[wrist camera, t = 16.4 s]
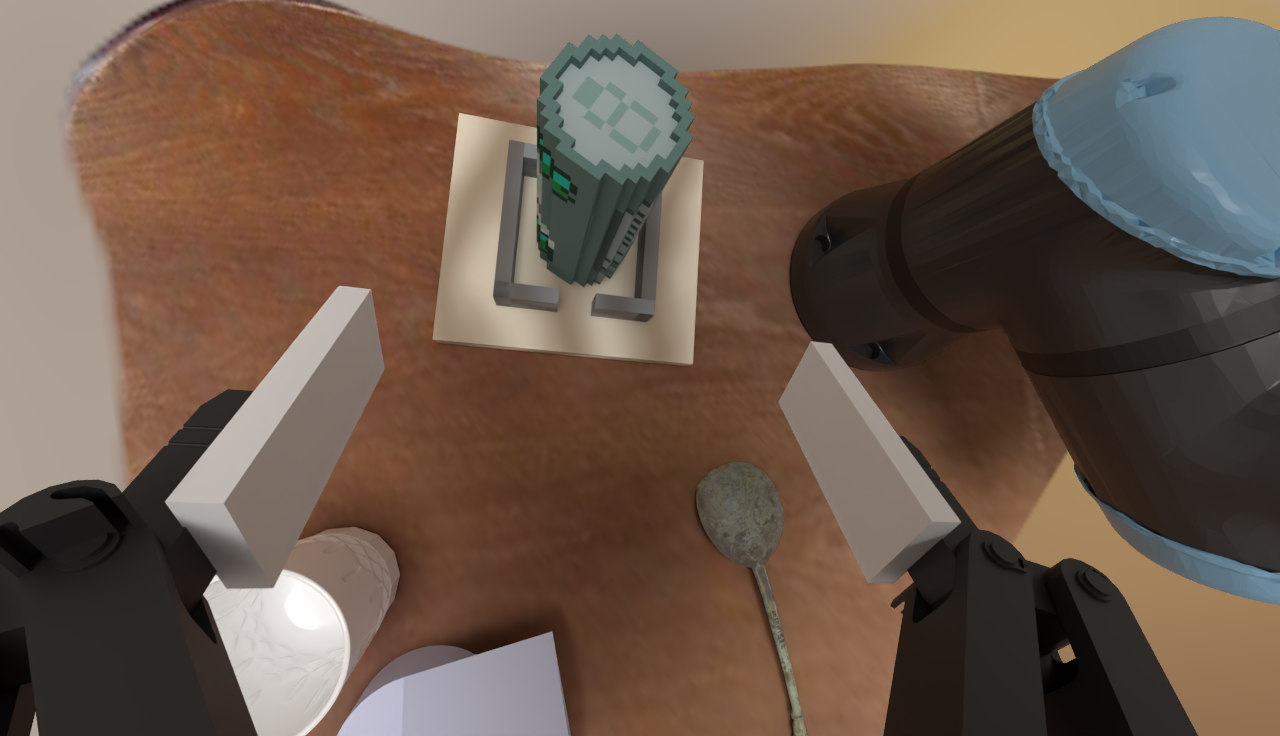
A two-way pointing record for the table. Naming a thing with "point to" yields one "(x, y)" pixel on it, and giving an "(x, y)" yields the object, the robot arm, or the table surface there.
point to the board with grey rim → (534, 296)
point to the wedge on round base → (465, 693)
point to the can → (604, 152)
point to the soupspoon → (749, 541)
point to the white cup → (306, 626)
